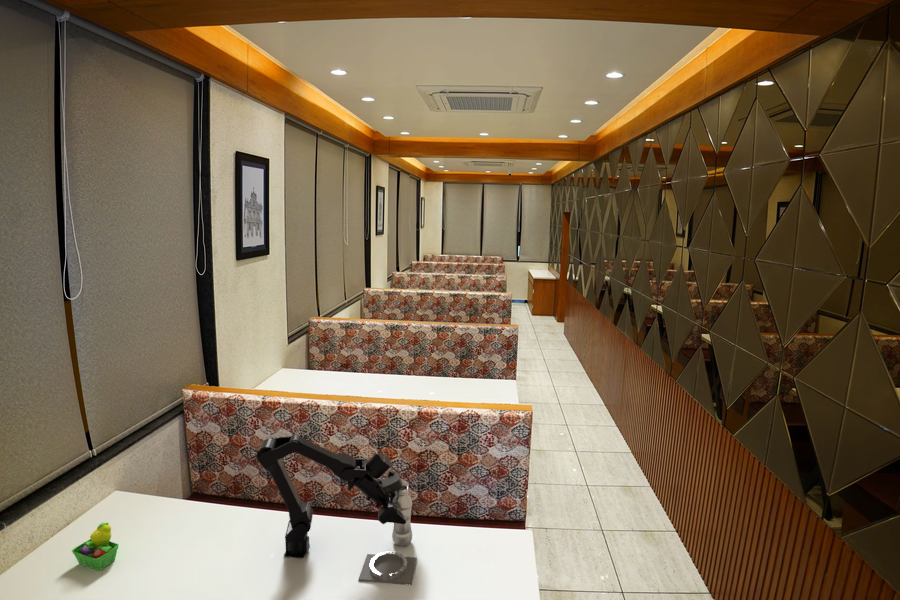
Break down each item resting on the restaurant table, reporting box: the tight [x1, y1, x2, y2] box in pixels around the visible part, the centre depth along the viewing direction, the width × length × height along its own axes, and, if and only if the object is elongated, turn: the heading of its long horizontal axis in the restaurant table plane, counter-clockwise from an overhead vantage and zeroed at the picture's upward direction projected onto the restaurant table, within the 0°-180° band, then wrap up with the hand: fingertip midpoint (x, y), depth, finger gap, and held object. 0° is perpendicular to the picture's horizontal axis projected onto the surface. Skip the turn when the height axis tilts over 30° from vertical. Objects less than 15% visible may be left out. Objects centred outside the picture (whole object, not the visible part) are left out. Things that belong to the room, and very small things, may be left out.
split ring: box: [370, 550, 407, 581], centre depth 163 cm, size 11×11×2 cm
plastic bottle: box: [391, 484, 413, 547], centre depth 175 cm, size 6×7×20 cm
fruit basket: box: [71, 522, 120, 571], centre depth 164 cm, size 11×9×11 cm
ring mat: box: [358, 553, 418, 586], centre depth 164 cm, size 16×12×1 cm
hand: (404, 514), depth 175 cm, fingers open, 9 cm apart
